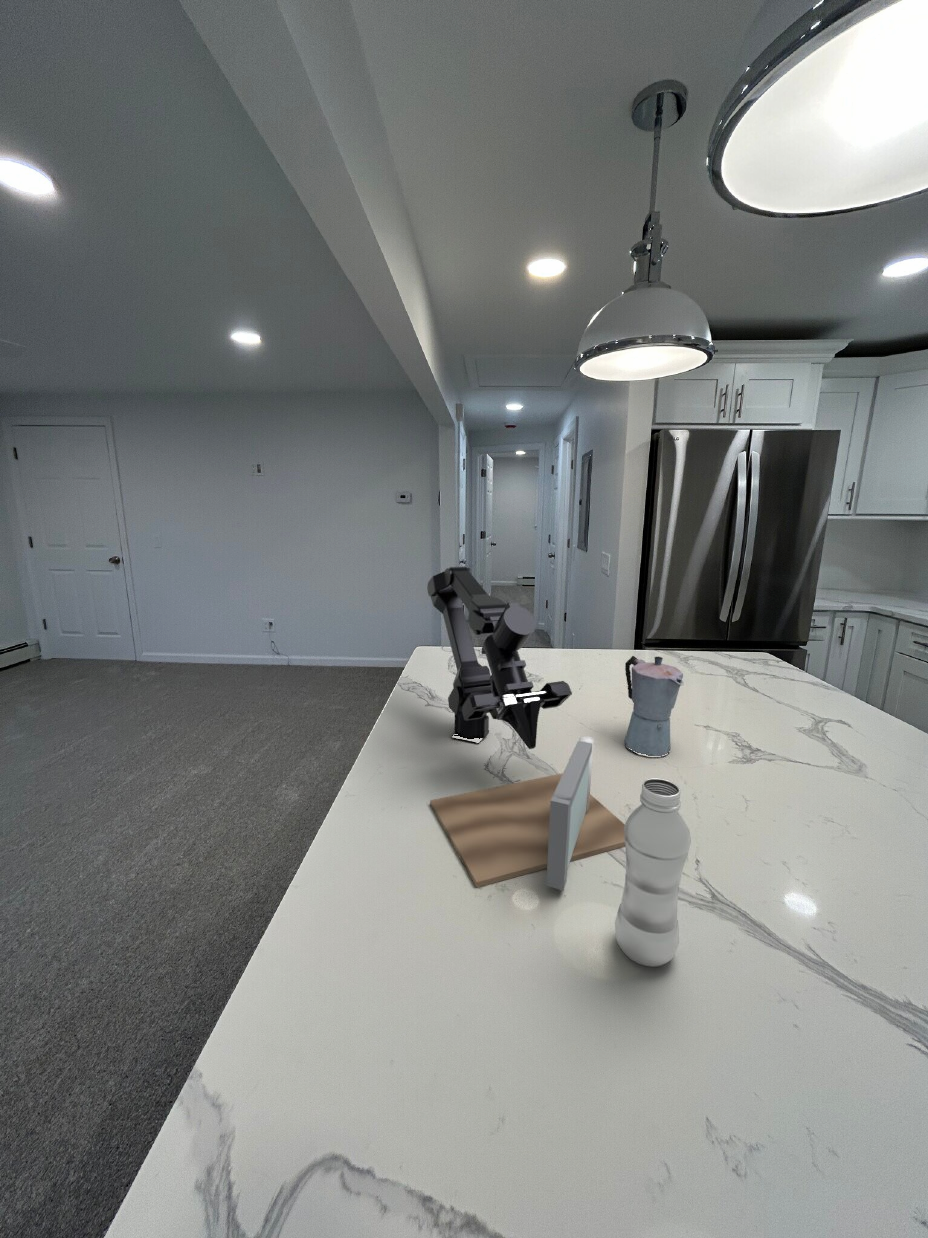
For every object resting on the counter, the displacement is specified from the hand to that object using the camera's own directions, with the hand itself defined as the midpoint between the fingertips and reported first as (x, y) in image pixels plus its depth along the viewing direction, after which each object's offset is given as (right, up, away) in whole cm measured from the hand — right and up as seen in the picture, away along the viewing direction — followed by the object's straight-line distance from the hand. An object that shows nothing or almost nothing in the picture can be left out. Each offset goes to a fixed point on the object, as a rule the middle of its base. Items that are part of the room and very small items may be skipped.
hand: (532, 748), depth 82 cm
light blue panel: (+4, -11, -10) cm, 15 cm away
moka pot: (+26, -6, +22) cm, 35 cm away
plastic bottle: (+9, -16, -26) cm, 32 cm away
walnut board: (-1, -11, -4) cm, 11 cm away
